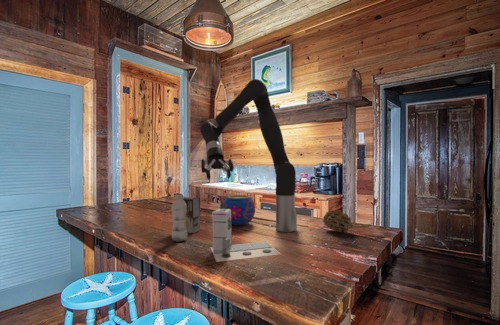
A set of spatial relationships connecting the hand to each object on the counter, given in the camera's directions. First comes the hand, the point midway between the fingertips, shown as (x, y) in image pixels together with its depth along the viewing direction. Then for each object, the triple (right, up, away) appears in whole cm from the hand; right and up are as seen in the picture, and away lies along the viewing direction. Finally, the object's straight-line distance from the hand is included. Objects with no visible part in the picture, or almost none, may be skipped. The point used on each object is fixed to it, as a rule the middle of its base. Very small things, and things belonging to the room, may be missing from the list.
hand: (219, 177), depth 113 cm
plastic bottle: (-17, -27, -2) cm, 32 cm away
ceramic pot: (+7, -27, +26) cm, 38 cm away
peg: (+5, -26, -23) cm, 35 cm away
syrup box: (+3, -26, -16) cm, 30 cm away
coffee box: (-16, -27, +14) cm, 34 cm away
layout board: (+11, -27, -17) cm, 34 cm away
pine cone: (+58, -26, +8) cm, 65 cm away
